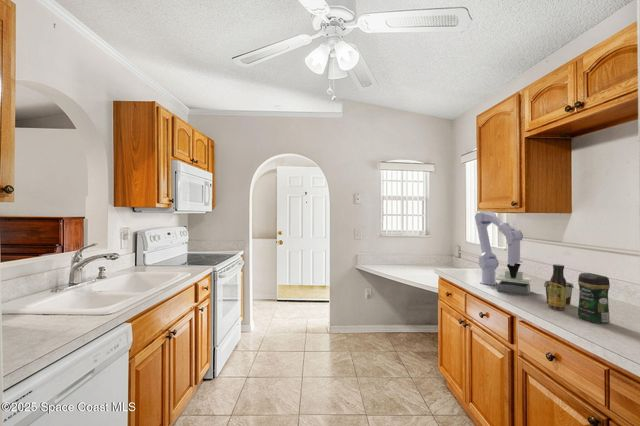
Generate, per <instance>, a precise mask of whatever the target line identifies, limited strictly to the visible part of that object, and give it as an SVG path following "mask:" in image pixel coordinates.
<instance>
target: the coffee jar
mask: <svg viewBox="0 0 640 426" xmlns="http://www.w3.org/2000/svg"><path fill="white" fill-rule="evenodd" d="M577 282H578V283H577V284H578V287H579V289H578V290H579V294H578V295H579V298H578V307H577V316H578V317H579V318H580V319H583V320H585V321H588V322H590V323H596V324H597V323H598V324H602V325H604V324H607V323H610V321H611V320H610V307H609V305H610V304H609V290H610V287H611V285H610V284H611V283H610V279H609V277H607V276H604V275H600V274H596V273H591V272H584V273H583V272H581V273H580V274H579V275H578V279H577Z"/></svg>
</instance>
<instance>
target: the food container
mask: <svg viewBox="0 0 640 426" xmlns="http://www.w3.org/2000/svg"><path fill="white" fill-rule="evenodd" d="M549 282H550V280H546V281H545V282H544V283H543V287H544V288H545V294H546V295H545V296H546V303H547V304H548V297H549ZM574 288H575V286H574V285H573V283H572V282H568V281H566V304H565V306H570V305H571V302H572V301H571V300H572V293H573V289H574Z"/></svg>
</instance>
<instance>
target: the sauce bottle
mask: <svg viewBox="0 0 640 426" xmlns="http://www.w3.org/2000/svg"><path fill="white" fill-rule="evenodd" d="M552 268H553V269H552V270H553V271H552V275H551V277H550V280H549V281H550V282H549V297H548V303H547V304H548V308H549V309H552V310H555V311H565V308H566V305H565V304H566V282H567V279H566V278H565V277H564V270H565V265H564V264H559V263H553V265H552Z"/></svg>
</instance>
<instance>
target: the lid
mask: <svg viewBox="0 0 640 426" xmlns="http://www.w3.org/2000/svg"><path fill="white" fill-rule="evenodd" d="M496 281H510V282H518V283H527V284H530V283H531V281H532V278H531V277H526V276H525V277H524V272H523V271H518V272H517V274H516V278H511V276H510V271H509V270H505V271H504V274H500V275H498V276H497V277H496Z"/></svg>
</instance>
